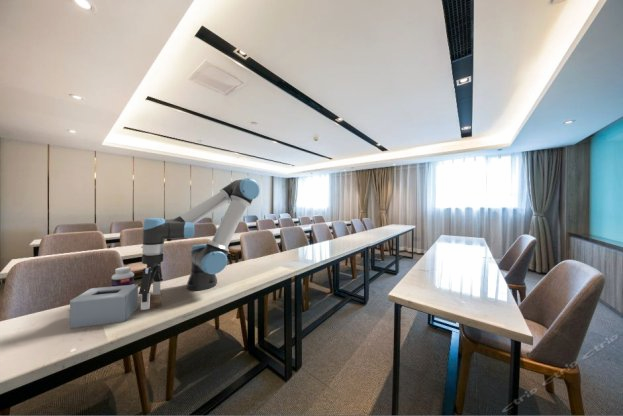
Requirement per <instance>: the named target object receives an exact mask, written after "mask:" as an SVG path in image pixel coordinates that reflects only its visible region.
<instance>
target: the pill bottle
mask: <svg viewBox="0 0 623 416" xmlns="http://www.w3.org/2000/svg"><path fill="white" fill-rule="evenodd" d="M131 270H132V267H130V266H124V267H123V266H122V267H117V268H115V270H114V271H115V272H114V274H112V276H111V278H110V279H111V281H110V283H111V284H110V285H111V286H110V287H114V286H125V285H135V273H134V272H133V271H131Z"/></svg>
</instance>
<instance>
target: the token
mask: <svg viewBox="0 0 623 416" xmlns="http://www.w3.org/2000/svg"><path fill="white" fill-rule="evenodd" d="M162 297H163V295H162V293H160V294H158V295H153V294H150V307H149V309H148V310H151V309H152V310H153V309H158V308H161V307H162V305H163V304H162V302H163V301H162V299H163V298H162Z"/></svg>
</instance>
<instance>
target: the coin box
mask: <svg viewBox="0 0 623 416" xmlns="http://www.w3.org/2000/svg"><path fill="white" fill-rule="evenodd" d="M138 307H139V284H137V283H136V284H134V285H125V286H114V287H111V286H104V287H93V288H92V287H91V288H89V289H88V290H86V291H84V292H83V293H81V294H79V295H78V296H75V297H74V298H72V299H70V300H69V329H77V328H83V327H84V328H85V327H89V326H90V327H91V326H99V325H105V324H106V325H107V324H113V323H122V322H126V321H127V319H128V318H129V317H130V316H131V315H132V314H133V313H134V312H135V311H136V309H138Z"/></svg>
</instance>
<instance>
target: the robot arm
mask: <svg viewBox="0 0 623 416" xmlns="http://www.w3.org/2000/svg"><path fill="white" fill-rule="evenodd" d="M260 189H261V188H260V186H259V184H258V182H257V181H256V180H255V179H253V178H250V177H249V178H243V179H236V180H234V181H231V182H230V183H229V184H227V185H226V186H224V187H223V188H221V189H220V190H219V192H218V193H216V194H214V195H213V196H210V198H207V199H205V200H204V201H202V202H201V203H199V204H197V205H195V206H194V207H192V208H191V209H189V210H187V211H185V212H184V213H182V214H180V215H179V216H177V217H175V218H174V219H170V220H168V221H166V220H165V218H162V217H159V218H158V217H150V218H149V217H146V218H145V219H144V221H143V226H142V227H143V228H142V246H141V247H140V248H141V249H142V251H141V252H142V255H141V263H142V264H143V265H146V267H145V268H143V269H142V278H141V283H140V287H139V290H138V295H140V296H141V297H140V311H143V310H145V311H146V310H150V309H149V307H150V295H151V292H150V290H151V287H152V295H158V294H161V283H162V281H163V280H164V278H163V273H162V262H163V261H164V250H165V249H164V248H165V240H174V239H191V238H193V237H194V235H195V233H196V231H195V230H196V228H195V224H196V223H198V222H199V221H202V219H204V218H206V217H208V216H209V215H210V214H212V213H214V212H216V211H217V210H218V209H220V208H221V207H223V206H225V205H226V204H229V206H228V207H227V210H226V211H225V213H224V215H223V217H222V220H221V222H220V223H219V225H218V228H217V229H216V232H215V233H214V235H213V238H212V240H210V241H209V242H207V243H202V244H194V245H192V246H191V249H190V274H189V277H188V280H187V282H186V289H188V290H191V291H204V290H208V289H210V288H214V287H216V286H217V285H218V278H217V276H216V274H219V273H222V271H224V270H225V268H226V267H227V265H228V257H227V256H228V254H229V251H230V249H229V245H230V243H231V240H232V239H233V236H234V234H235V232H236V230H237V228H238V225H239V223H240V222H241V219H242V216H243V215H244V213H245V211H246V208H247V207H249V206H251V204H252V202H253V201H254V200H255V199H256V198H258V197H259V196H260ZM216 284H217V285H216Z"/></svg>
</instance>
